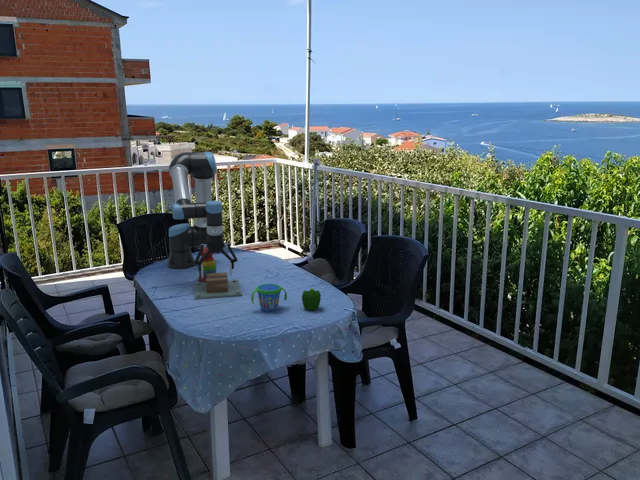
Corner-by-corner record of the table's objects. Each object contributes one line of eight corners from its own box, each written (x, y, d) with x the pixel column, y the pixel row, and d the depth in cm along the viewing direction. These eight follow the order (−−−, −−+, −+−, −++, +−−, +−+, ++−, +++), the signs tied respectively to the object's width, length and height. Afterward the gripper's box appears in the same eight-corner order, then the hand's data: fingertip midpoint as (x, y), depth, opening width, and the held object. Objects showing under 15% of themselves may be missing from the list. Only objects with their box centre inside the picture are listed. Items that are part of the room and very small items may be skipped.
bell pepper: (302, 305, 234) (302, 284, 232) (320, 305, 234) (320, 284, 231) (301, 312, 226) (301, 290, 223) (320, 312, 225) (320, 290, 223)
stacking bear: (221, 277, 275) (219, 244, 271) (215, 282, 266) (213, 249, 262) (201, 276, 276) (199, 243, 272) (194, 282, 267) (192, 248, 263)
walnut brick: (207, 284, 259) (206, 273, 258) (227, 283, 261) (227, 272, 260) (206, 293, 247) (206, 281, 245) (228, 292, 248) (227, 280, 247)
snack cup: (285, 303, 236) (284, 282, 234) (288, 311, 226) (288, 289, 224) (250, 306, 233) (249, 284, 230) (252, 314, 223) (252, 292, 220)
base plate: (194, 285, 262) (194, 281, 261) (238, 282, 267) (238, 278, 266) (194, 299, 241) (194, 295, 241) (242, 296, 246) (242, 292, 246)
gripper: (187, 236, 241) (190, 280, 246) (242, 234, 247) (243, 277, 252) (188, 233, 248) (190, 275, 253) (240, 230, 254) (242, 272, 259)
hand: (216, 276), depth 253 cm, fingers open, 13 cm apart
